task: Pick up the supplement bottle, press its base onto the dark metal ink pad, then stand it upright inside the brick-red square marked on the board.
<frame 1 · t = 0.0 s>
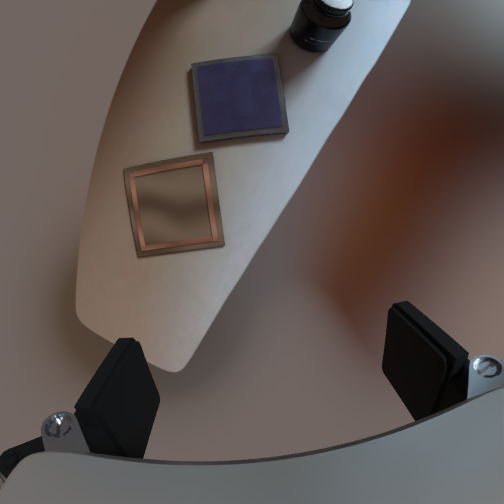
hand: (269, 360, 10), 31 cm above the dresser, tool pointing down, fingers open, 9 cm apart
supplement bottle: (311, 36, 33), on the dresser
ink pad: (239, 97, 35), on the dresser
marked board: (172, 205, 39), on the dresser
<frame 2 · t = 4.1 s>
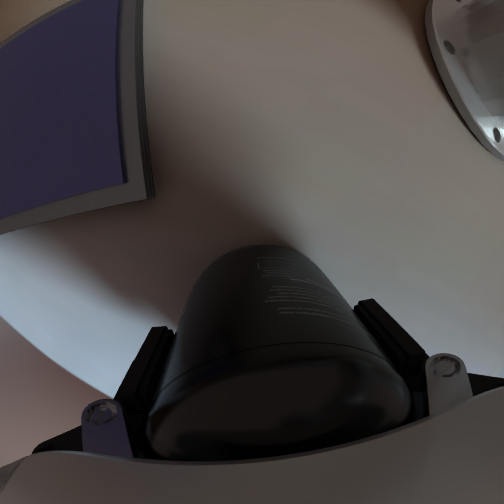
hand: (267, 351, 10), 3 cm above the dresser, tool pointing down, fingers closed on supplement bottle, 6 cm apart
supplement bottle: (261, 310, 14), on the dresser, touching gripper
ink pad: (42, 109, 10), on the dresser
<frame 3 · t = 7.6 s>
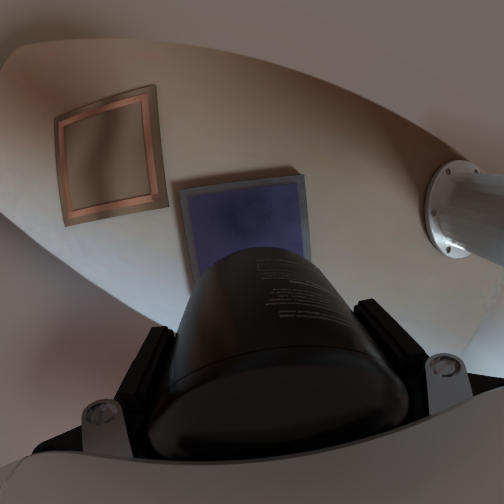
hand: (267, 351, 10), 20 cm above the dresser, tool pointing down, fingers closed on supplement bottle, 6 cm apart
supplement bottle: (261, 312, 14), point 16 cm above the dresser, touching gripper
ink pad: (248, 240, 29), on the dresser
marked board: (104, 157, 26), on the dresser
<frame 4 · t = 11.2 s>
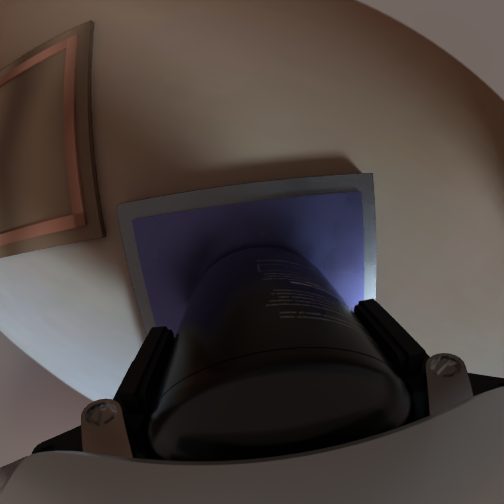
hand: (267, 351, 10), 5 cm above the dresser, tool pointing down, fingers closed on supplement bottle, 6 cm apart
supplement bottle: (261, 313, 14), point 1 cm above the dresser, touching gripper, ink pad
ink pad: (258, 301, 15), on the dresser
marked board: (11, 150, 12), on the dresser
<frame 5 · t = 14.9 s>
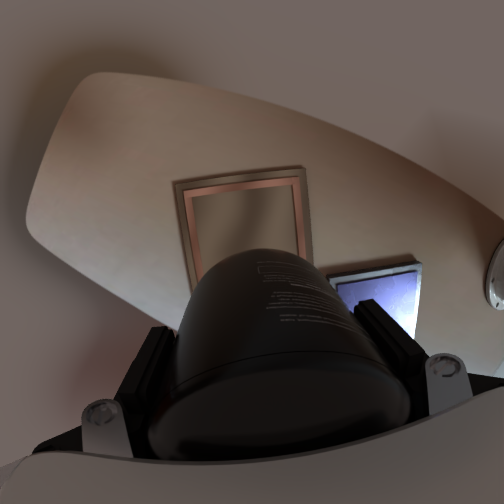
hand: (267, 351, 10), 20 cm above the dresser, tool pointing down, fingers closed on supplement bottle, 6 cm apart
supplement bottle: (261, 314, 14), point 16 cm above the dresser, touching gripper
ink pad: (373, 313, 32), on the dresser
marked board: (247, 238, 29), on the dresser
when the fingers open (5 cm above the dresser, at t = 18.2 s): supplement bottle drops 2 cm, resting on marked board.
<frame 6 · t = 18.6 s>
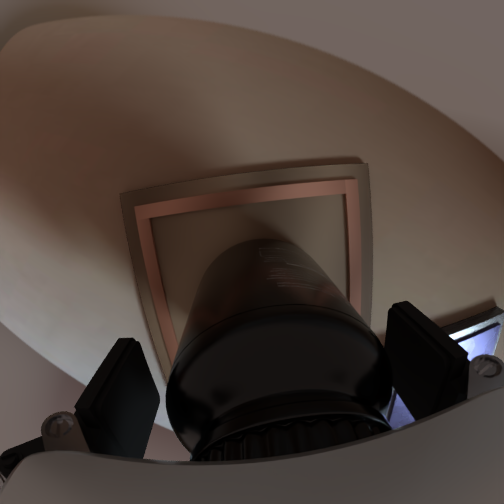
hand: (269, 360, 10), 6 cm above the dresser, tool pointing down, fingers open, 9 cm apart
supplement bottle: (262, 298, 15), resting on marked board
ink pad: (436, 383, 19), on the dresser
marked board: (258, 294, 16), on the dresser
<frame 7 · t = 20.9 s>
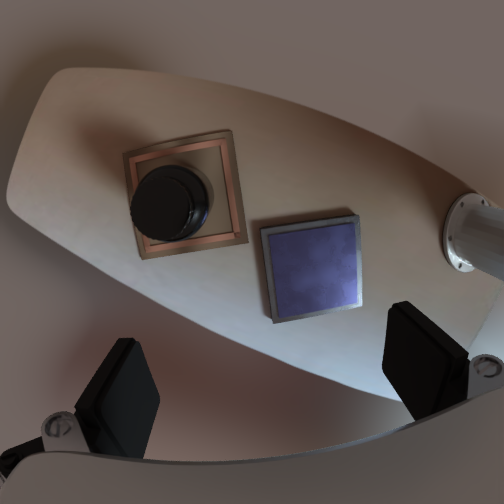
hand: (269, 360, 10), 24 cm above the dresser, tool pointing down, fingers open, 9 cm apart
supplement bottle: (185, 197, 32), resting on marked board
ink pad: (313, 268, 35), on the dresser
marked board: (183, 196, 32), on the dresser
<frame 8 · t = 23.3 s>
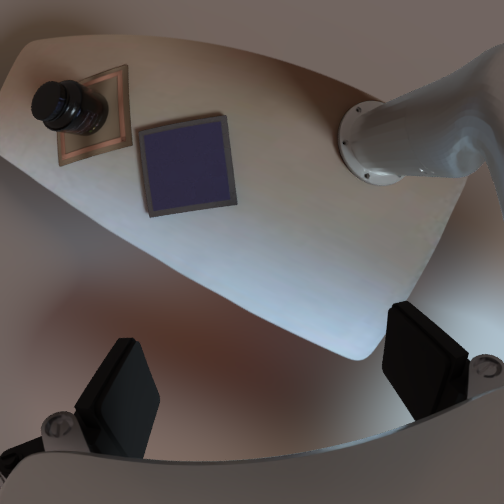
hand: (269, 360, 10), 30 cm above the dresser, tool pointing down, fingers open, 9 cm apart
supplement bottle: (91, 115, 34), resting on marked board
ink pad: (187, 166, 37), on the dresser
marked board: (91, 115, 34), on the dresser
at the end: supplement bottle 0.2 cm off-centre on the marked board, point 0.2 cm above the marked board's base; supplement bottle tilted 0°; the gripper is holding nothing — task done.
